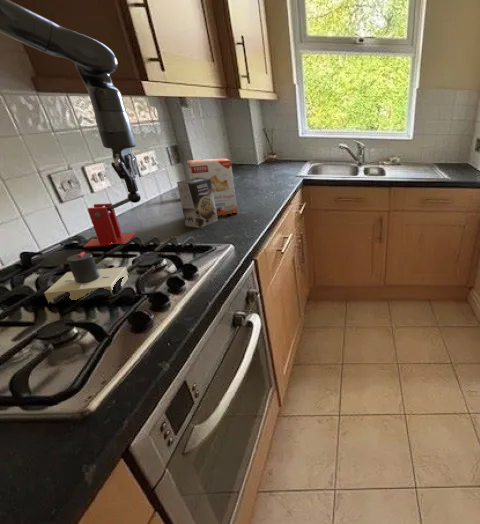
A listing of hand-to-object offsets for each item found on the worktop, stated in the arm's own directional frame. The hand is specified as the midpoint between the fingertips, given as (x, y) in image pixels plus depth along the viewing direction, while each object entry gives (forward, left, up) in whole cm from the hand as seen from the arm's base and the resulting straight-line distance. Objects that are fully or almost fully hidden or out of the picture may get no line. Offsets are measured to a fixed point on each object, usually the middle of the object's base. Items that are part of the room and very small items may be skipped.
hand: (133, 191), depth 98 cm
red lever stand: (-9, 0, -16) cm, 18 cm away
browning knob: (-3, -31, -12) cm, 34 cm away
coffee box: (+15, +12, -16) cm, 25 cm away
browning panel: (-3, -31, -16) cm, 35 cm away
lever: (-4, 0, -5) cm, 6 cm away
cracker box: (+19, +24, -16) cm, 34 cm away
